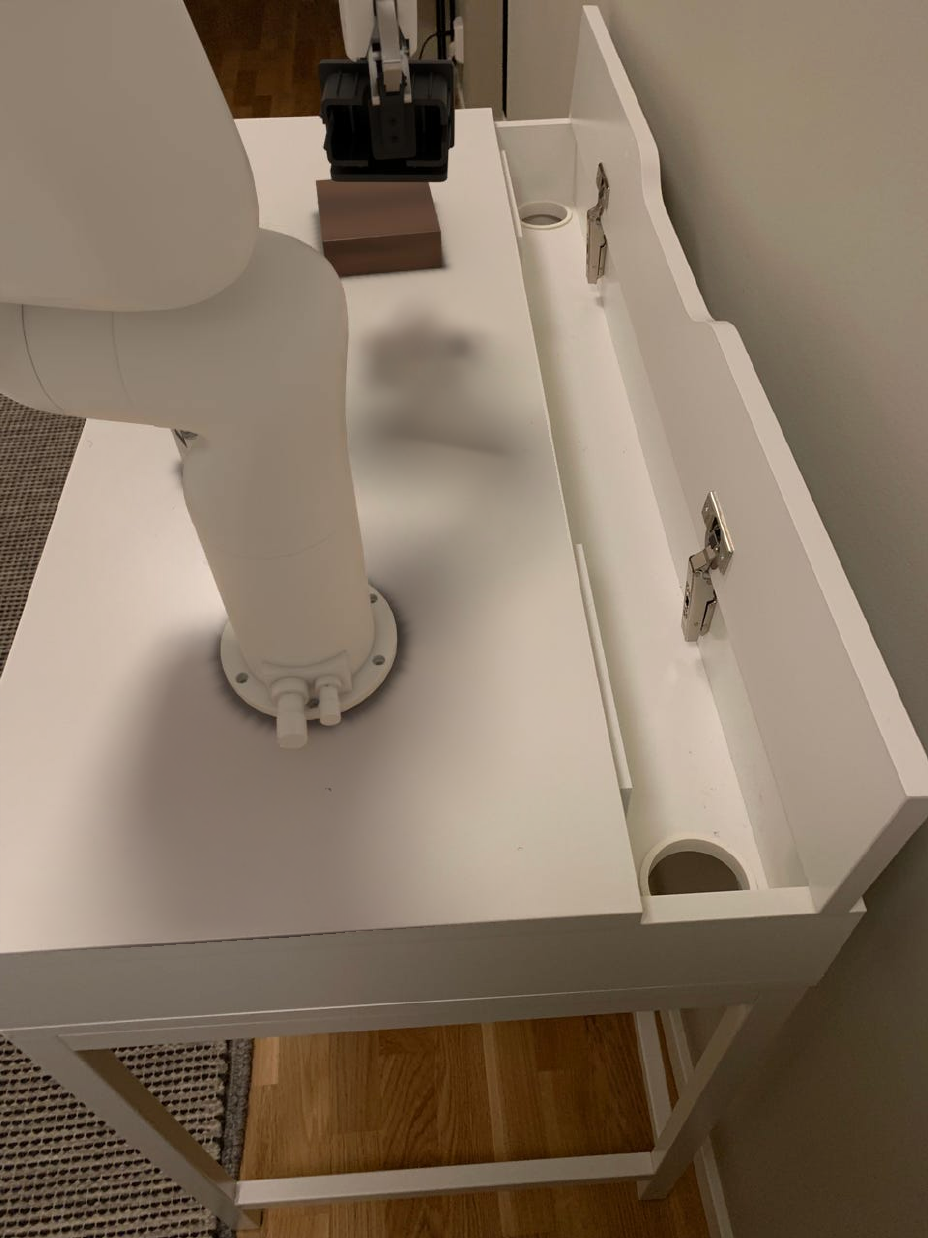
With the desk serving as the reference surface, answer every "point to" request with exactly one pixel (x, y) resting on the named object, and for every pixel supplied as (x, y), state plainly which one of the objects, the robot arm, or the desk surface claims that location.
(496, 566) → the desk surface
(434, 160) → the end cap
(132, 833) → the desk surface
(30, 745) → the desk surface
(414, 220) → the riser
